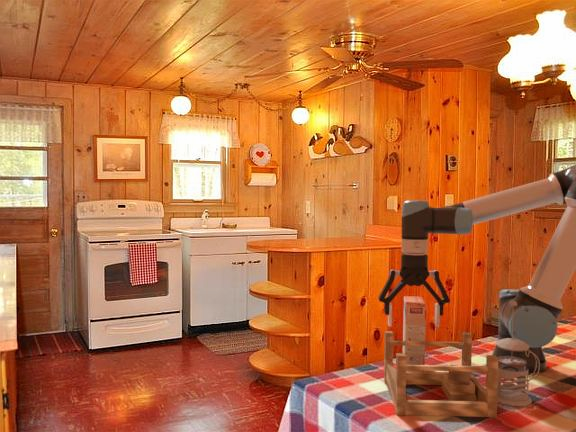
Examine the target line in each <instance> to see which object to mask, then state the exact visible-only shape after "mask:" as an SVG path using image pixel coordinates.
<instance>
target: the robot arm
mask: <svg viewBox="0 0 576 432" xmlns="http://www.w3.org/2000/svg"><path fill="white" fill-rule="evenodd" d="M553 204H557V205H560V206H562V205H566V208H565V210H564V212H563V214H562V216H561V219H560V220H559V222H558V225H557V226H556V228H555V230H554V233H553V235H552V236H551V239H550V240H549V243H548V245H547V247H546V249H545V251H544V253H543V255H542V257H541V259H540V261H539V263H538V265H537V266H536V269H535V271H534V273H533V275H532V278H531V279H530V282H529V283H528V285H526V286H522V287H520V288H519V289H509V288H508V289H501V290H500V292H499V296H498V301H499V302H498V304H499V305H498V335H497V336H498V338H497V341H498V340H501V339H505V338H512V314H513V338H515V339H518V340H521V341H523V342H525V343H526V344H528V345H529V346H530V348H529V349H528V350H530V351H531V352H533V353H534V354H535V355H536V356H537V357H538V359H539V361H540V370H539V373H538V374H541V373H544V372H546V371H547V358H546V356H545V353H544V349H543V347H545V346H547V345H548V344H550V343H551V342H552V341H553V340H554V339H555V338H556V336H557V332H558V319H559V318H560V316H561V313H562V311H563V310H564V307H563V304H562V301H561V299H562V297H563V295H564V293H565V291H566V290H567V287H568V286H569V283H570V281H571V279H572V277H573V275H574V274H575V271H576V164H574V165H571V166H570V167H566V168H565V169H562V170H559V171H556V172H553V173H550V174H549V175H548V177H547V178H544V179H541V180H537V181H536V180H535V181H533V182H529V183H526V184H522V185H519V186H515V187H512V188H507V189H505V190H500V191H497V192H494V193H490V194H486V195H483V196H479V197H477V198H473V199H469V200H465V201H463V202H460V203H459V202H458V203H455V204H452V205H445V206H442V207H431V206H430V204H429V201H428V200H409V199H408V200H405V201H404V202H402V204H401V205H402V207H401V247H400V251H401V252H402V254H401V255H400V269H399V270H394V269H393V268H392V269H390V270H389V275H388V278H387V280H386V282H385V284H384V286H383V288H382V290H381V291H380V294H379V296H378V298H377V300H378V301H379V302H380V303H384V309H383V311H384V314H385V315H386V316H387V325H388V328H392V327H393V304H392V301H393V300H394V299H395V297H397V295H398V294H399V293H400V292H401V291H402V290H403V288H405V287H406V285H407V286H409V287H413V286H416V287H421V286H423V287H424V288H425V289H426V290H427V291H428V293H429V294H431V296H432V297H433V299H435V301H436V302H437V303H434V327H435V328H440V322H441V321H440V318H441V317H442V316H443V315H444V305H445V304H447V303H448V304H449V303H451V299H450V296H449V295H448V293H447V291H446V289H445V287H444V285H443V283H442V281H441V279H440V271H438V270H436V269H433V270H429V267H428V266H429V265H428V264H429V262H428V261H429V260H428V258H429V257H428V254H427V253H428V252H429V234H433V235H434V234H441V235H443V234H444V235H458V236H459V235H469V234H471V233H472V231H473V226H474V225H477V224H482V223H484V222H488V221H492V220H497V219H500V218H504V217H507V216H511V215H514V214H519V213H522V212H526V211H530V210H533V209H538V208H541V207H545V206H549V205H553ZM398 276H400V278H401V280H400V281H399V282H398V283H397V284H396V286H395V287H394V288H393V289H392V291H391V292H390V293H389V291H390V289H391V287H392V285H393V282H394V281H395V279H396V278H398ZM429 276H430V277H431V278H432V279H433V281H434V282H435V285H436V286H437V288H438V290H439V293H440V294H441V297H442V298H441V297H440V296H439V295H438V293H436V291H435V290H434V289H433V288H432V286H431V285H430V284H429V283H428V282H427V280H428V278H429ZM388 293H389V294H388ZM387 294H388V295H387ZM510 301H516V303H517V306H511V305H509V302H510ZM440 316H441V317H440ZM530 351H526V354H527V355H528V352H530ZM491 355H495V356H497V357H500V356H509V357H511V356H512V357H516V358H521V359H524V360H526V362H527V364H526V365H525V366H526V371H527V368H528V374H532V373H533V372H534V370H535V367H536V360H537V368H536V371H535V373H534V374H537V372H538V368H539V362H538V359H537V357H536V356H535V357H536V360H535V357H534V355H533V354H532V353H529V357H528V356H526V355H525V351H509V350H504V349H501V348H498V347H497V346H496V345H495V346H494V348H493V352H492V353H491ZM507 368H511V369H514V370H516V371H518V369H517V368H515V367H512V366H505V367H503V368H501V369H503V370H504V369H507Z"/></svg>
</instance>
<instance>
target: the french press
mask: <svg viewBox="0 0 576 432" xmlns="http://www.w3.org/2000/svg"><path fill="white" fill-rule="evenodd" d="M509 305H511V306H517V303H516V301H510V302H509ZM497 340H498V339H497ZM494 345H495V346H497V347H498V348H501V349H504V350H509V351H525V355H526V356H528V357H529V353H532V354H533V355H534V357H535V356H536V355H535V354H534V353H533V352H531V351H530V350H528V349H529V348H530V346H529V345H528V344H526V343H525V342H523V341H521V340H518V339H515V338H513V314H512V338H505V339H501V340H498V341H495V342H494ZM526 351H530V352H528V355H527V354H526ZM536 357H537V356H536ZM536 357H535V360H536ZM537 359H538V357H537ZM538 362H539V368H538V372H537V373H535V371H536V368H537V360H536V367H535V370H534V372H533V373H530V375H529V373H528V368H527V371H526V366H525V365H526V364H527V362H526V360H524V359H521V358H516V357H512V356H511V357H509V356H500V357H498V389H497V403H500V404H503V405H506V406H513V407H526V406H529V405H532V403H533V401H532V399H531V398H530V396H529V384H530V383H529V382H530V381H531V380H533V379H535V378H536V377H537V376H538V375H539V374H540V373H539V370H540V361H539V359H538ZM505 366H512V367H515V368H517V369H518V371H516V370H514V369H511V368H507V369H501V368H503V367H505ZM534 374H536V375H534ZM533 375H534V376H533ZM532 376H533V377H532ZM530 377H531V378H530Z"/></svg>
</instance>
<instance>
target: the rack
mask: <svg viewBox="0 0 576 432" xmlns="http://www.w3.org/2000/svg"><path fill="white" fill-rule="evenodd" d="M461 335H462V336H461V341H433V340H432V341H428V340H427V341H426V340H425V341H403V340H394V333H393V331H391V330H389V331H388V330H387V331H386V330H385V331H384V354H383V355H384V356H383V357H384V358H383V359H384V362H383V365H384V366H383V368H384V369H383V371H384V372H383V382H384V385H386V387H387V390H388V392H389V395H390V398H391V400H392V402H393V403H392V404H393V406H394V409H395V411H394V412H395V414H396V416H436V417H437V416H440V417H443V416H445V417H474V418H475V417H476V418H478V417H481V418H498V402H497V389H498V357H497V356H495V355H492V354H486V359H485V360H486V363H485V365H472V349H473V347H472V345H473V344H472V343H473V334H472V333H471V332H462V334H461ZM394 346H399V347H401V346H402V347H403V346H425V347H449V348H450V347H452V348H453V347H457V348H458V347H459V348H460V347H461V365H458V366H450V365H443V364H442V365H439V364H436V365H435V364H425V365H406V355H405V353H403V352H401V353H400V352H399V353H398V352H396V354H395V359H396V360H395V365H394V362H393V361H394ZM406 370H420V371H425V372H413V371H406ZM449 371H466V372H471V374H470V380H471V381H472V382H473V383H474V384H475V395H476V396H477V399H476V401H450V400H434V399H431V400H430V399H406V398H407V397H406V396H407V394H406V392H407V391H406V390H407V389H406V386H407V385H425V386H427V385H431V386H432V385H433V386H436V385H437V386H439V385H440V386H442V382H443V374H448V372H449ZM472 372H474V373H476V372H477V373H478V372H479V373H485V374H486V375H485V386H484V385H483V384H482V383H481V382H480V380H479V379H478V378H477V377H476V376H475V374H473V373H472Z"/></svg>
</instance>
